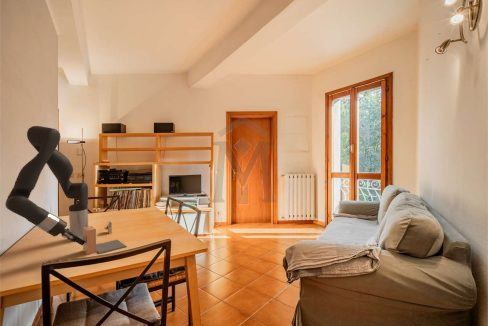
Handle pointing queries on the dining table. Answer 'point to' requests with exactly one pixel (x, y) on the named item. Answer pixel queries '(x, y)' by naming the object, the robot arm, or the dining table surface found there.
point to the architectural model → (109, 227)
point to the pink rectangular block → (89, 240)
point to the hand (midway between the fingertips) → (83, 243)
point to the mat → (109, 246)
